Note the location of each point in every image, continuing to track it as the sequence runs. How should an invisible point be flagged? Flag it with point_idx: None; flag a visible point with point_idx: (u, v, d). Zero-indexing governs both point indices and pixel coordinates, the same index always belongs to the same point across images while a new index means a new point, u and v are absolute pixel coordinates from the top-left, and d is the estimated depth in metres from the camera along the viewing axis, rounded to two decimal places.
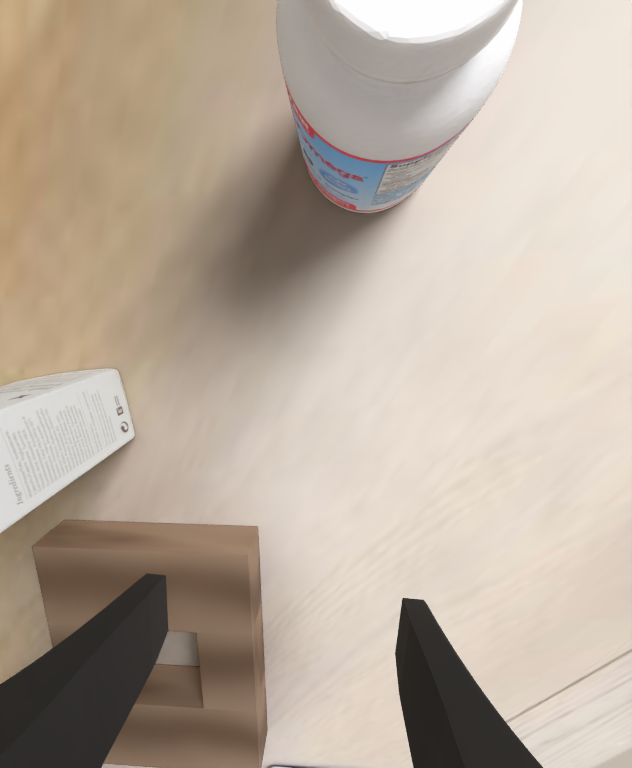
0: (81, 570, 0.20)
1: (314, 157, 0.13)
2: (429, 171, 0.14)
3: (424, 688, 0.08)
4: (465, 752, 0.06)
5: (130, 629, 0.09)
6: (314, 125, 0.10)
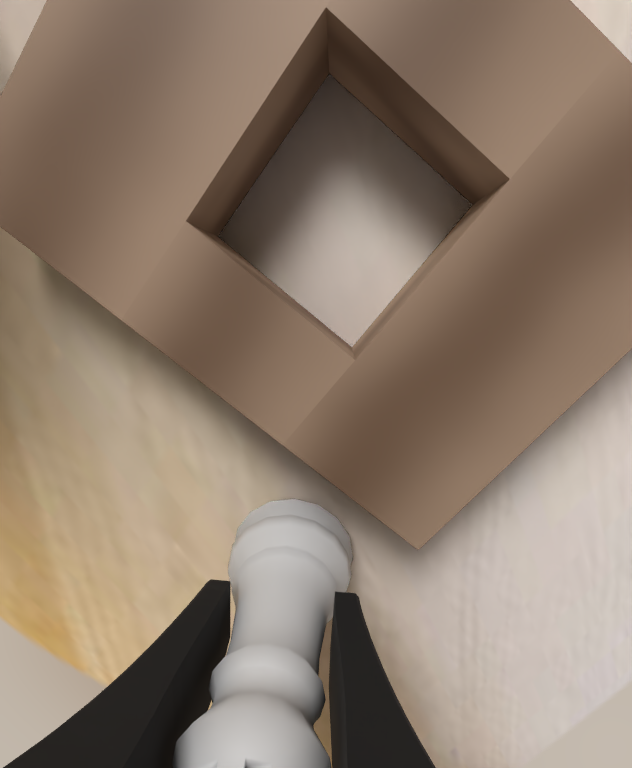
0: (48, 139, 0.09)
1: None
2: None
3: (338, 679, 0.09)
4: (353, 739, 0.07)
5: (206, 637, 0.09)
6: None
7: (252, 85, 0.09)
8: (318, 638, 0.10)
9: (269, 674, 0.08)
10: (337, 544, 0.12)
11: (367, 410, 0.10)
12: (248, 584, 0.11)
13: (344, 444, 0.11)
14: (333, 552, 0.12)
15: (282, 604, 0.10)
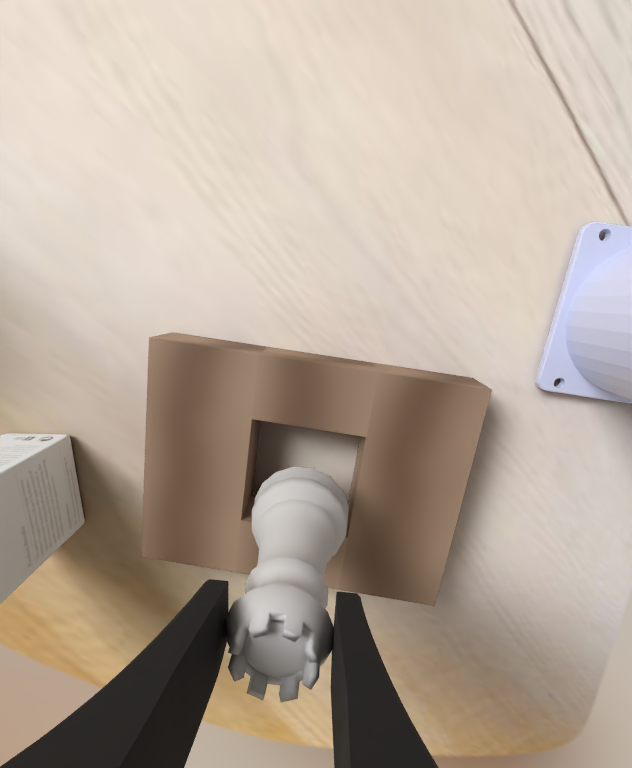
0: (169, 518, 0.19)
1: None
2: None
3: (340, 679, 0.09)
4: (355, 739, 0.07)
5: (203, 637, 0.09)
6: None
7: (239, 459, 0.18)
8: (320, 555, 0.13)
9: (283, 573, 0.12)
10: (331, 494, 0.16)
11: (367, 555, 0.19)
12: (265, 530, 0.14)
13: (366, 575, 0.20)
14: (328, 499, 0.16)
15: (290, 535, 0.13)
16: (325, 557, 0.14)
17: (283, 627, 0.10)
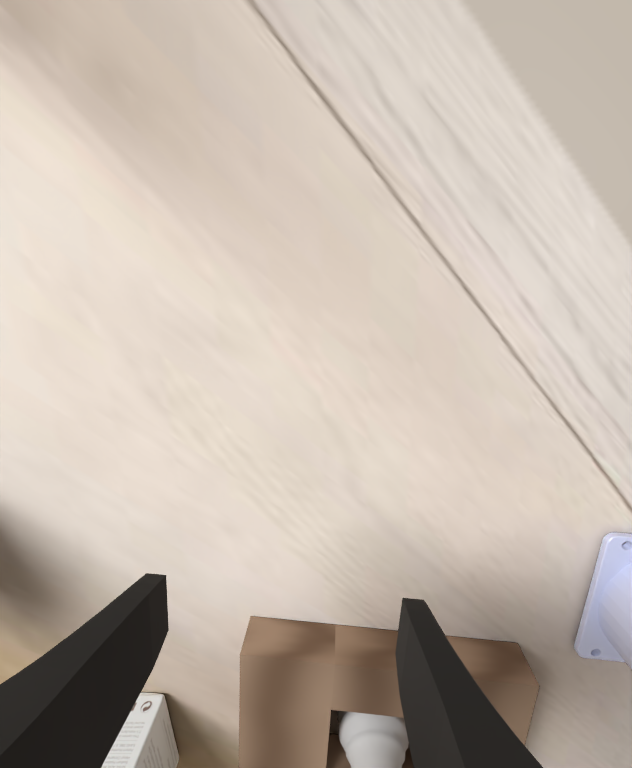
0: None
1: None
2: None
3: (424, 688, 0.08)
4: (465, 752, 0.06)
5: (130, 629, 0.09)
6: None
7: (321, 738, 0.21)
8: None
9: None
10: (397, 717, 0.22)
11: None
12: (356, 759, 0.21)
13: None
14: (396, 724, 0.22)
15: None
16: None
17: None
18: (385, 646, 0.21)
